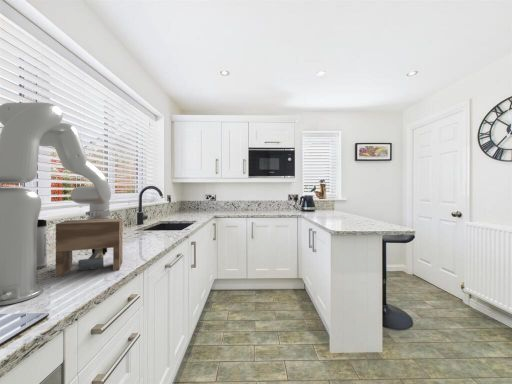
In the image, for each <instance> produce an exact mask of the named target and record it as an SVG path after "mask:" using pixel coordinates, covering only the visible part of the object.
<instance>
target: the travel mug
mask: <svg viewBox="0 0 512 384" xmlns="http://www.w3.org/2000/svg"><path fill="white" fill-rule="evenodd" d="M47 227H48V225H47V219H46V220H45V219H39V218H38V222H37V269H36V271H37V270H41V269H44V268H46V267H47V258H48V257H47V255H48V254H47V253H48V252H47V251H48V249H47V247H48V246H47V245H48V243H47V241H48V240H47V238H48V237H47V235H48V232H47V231H48V230H47V229H48V228H47Z"/></svg>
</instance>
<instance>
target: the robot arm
mask: <svg viewBox="0 0 512 384" xmlns="http://www.w3.org/2000/svg"><path fill="white" fill-rule="evenodd" d="M62 120H63V111H62V110H61V108H60V107H59V106H57V105H55V104H54V103H49V102H6V103H3V104H1V105H0V124H1V125H2V126H3V128H2V129H1V131H0V306H4V305H5V306H6V305H11V304H16V303H20V302H23V301H27V300H30V299H32V298H36V297H38V296H39V295H40V294H42V293H43V292H44V287H43V285H41V284H40V285H39V284H37V270H38V269H37V222H38V219H39V217H40V213H41V210H42V209H41V208H42V199H41V197H40V195H38V193H37V192H36V191H34V190H31V189H29V188H23V187H2V184H25V183H30V182H32V181H33V180H35V179H36V176H37V172H38V165H39V164H38V163H39V153H40V152H39V151H40V146H41V147H54V149H55V151H56V153H57V156H58V158H59V160H60V161H59V162H60V163H61V165H62V168H63V169H65V170H67V171H69V172H72V173H74V174H76V175H79V176H82V177H83V178H85V179H87V180H89V182H91V183H92V185H81V186H76V187H75V188H73V189H71V191H70V199H71V201H73V202H74V203H75V204H79V205H89V210H88V211H86V212H85V215H86V216H88V217H87V218H86V220H95V219H112V216H110V200H111V198H112V197H111V196H112V194H111V193H112V192H111V188H110V184H109V181H108V180H107V177H106V175H104V173H103V172H102V171H100V170H99V168H97V167H96V166H95V165H94V164H93V163H91V162H90V161H89V159H88V156H87V154H86V151H85V148H84V146H83V143H82V140H81V137H80V135H79V131H78V130H77V128H76V127H75V126H74V125H72V124H69V123H64V122H62ZM94 252H95V249H91V255H92V254H93V253H94ZM106 253H108V248H103V255H104V256H105V255H106ZM36 269H37V270H36Z"/></svg>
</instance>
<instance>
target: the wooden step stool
mask: <svg viewBox="0 0 512 384" xmlns="http://www.w3.org/2000/svg"><path fill="white" fill-rule="evenodd" d="M123 225H124V223H123V218H111V219H95V220H87V219H75V220H73V219H70V220H64V221H60V222H58V223H55V277H56V278H57V277H59V278H60V277H63V276H64V275H66V273H67V272H69V271H70V270H71V269H72V268H73V251H86V250H87V251H88V250H92V249H101V248H107V249H110V248H111V249H112V248H113V249H112V250H113V251H112V254H113V257H112V258H113V259H112V260H113V261H112V264H113V266H112V267H113V268H112V269H113V271H114V272H115V271H120V269H121V267H122V265H123V238H124V236H123Z"/></svg>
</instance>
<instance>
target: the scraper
mask: <svg viewBox="0 0 512 384" xmlns="http://www.w3.org/2000/svg"><path fill="white" fill-rule="evenodd" d="M104 257H105V255H103V248H101V249H95V252H94V253H93V254H92V253H91V255H90V256H89V257H88V258H85V259H78V271H81V270H82V271H83V270H94V269H93V268H97V269H102V268H104Z"/></svg>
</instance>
